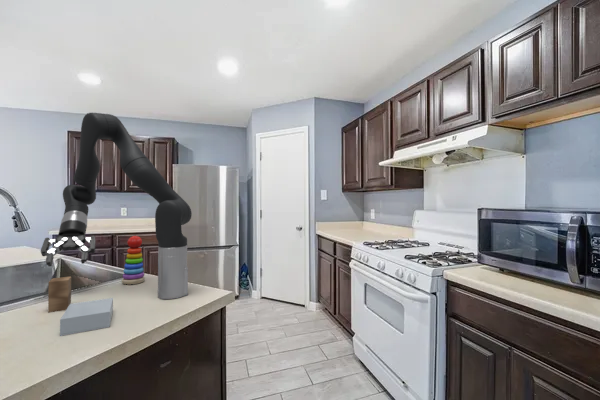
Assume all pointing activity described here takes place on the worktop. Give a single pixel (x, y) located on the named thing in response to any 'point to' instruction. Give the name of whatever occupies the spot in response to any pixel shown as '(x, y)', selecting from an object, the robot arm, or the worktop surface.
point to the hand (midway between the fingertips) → (66, 263)
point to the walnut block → (59, 294)
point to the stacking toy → (133, 262)
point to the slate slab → (86, 316)
